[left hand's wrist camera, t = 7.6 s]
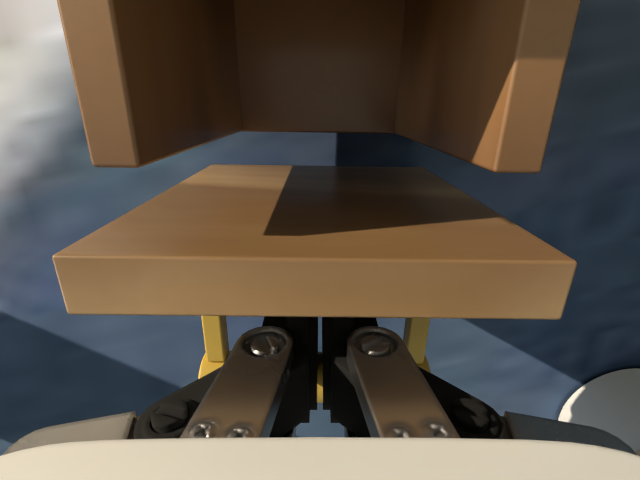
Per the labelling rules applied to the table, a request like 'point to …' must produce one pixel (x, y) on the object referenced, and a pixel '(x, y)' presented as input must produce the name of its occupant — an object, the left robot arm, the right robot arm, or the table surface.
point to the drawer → (317, 181)
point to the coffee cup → (609, 406)
